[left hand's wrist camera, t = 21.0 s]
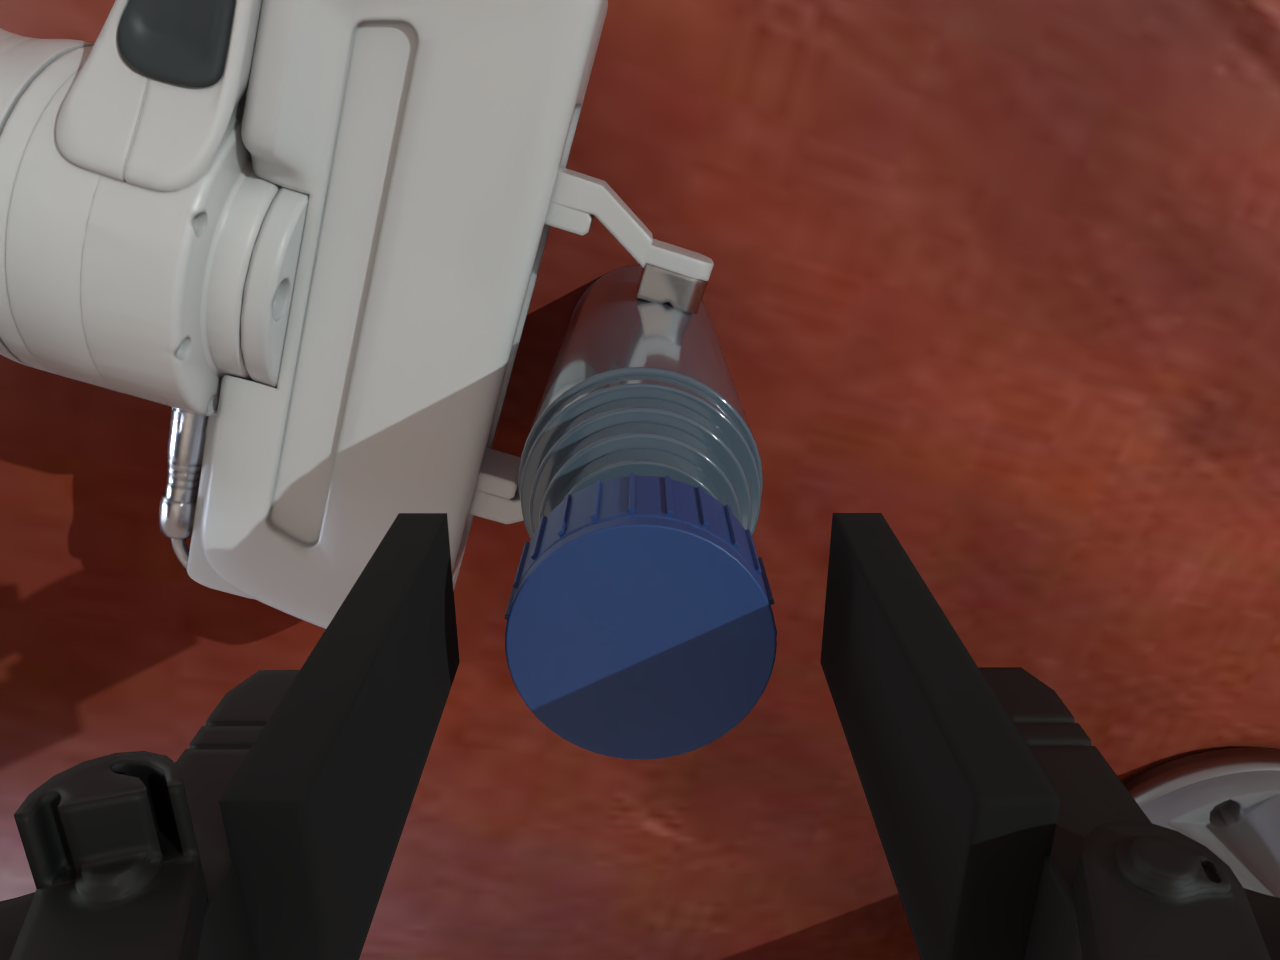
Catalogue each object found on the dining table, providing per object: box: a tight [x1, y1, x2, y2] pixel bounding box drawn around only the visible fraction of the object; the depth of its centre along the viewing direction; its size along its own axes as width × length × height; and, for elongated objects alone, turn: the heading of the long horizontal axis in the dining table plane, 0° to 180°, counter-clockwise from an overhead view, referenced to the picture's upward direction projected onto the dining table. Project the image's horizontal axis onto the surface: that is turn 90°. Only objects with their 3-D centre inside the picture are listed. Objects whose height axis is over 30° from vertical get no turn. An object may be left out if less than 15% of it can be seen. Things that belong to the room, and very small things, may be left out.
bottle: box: [518, 265, 763, 539], centre depth 23 cm, size 5×5×20 cm
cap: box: [505, 473, 777, 760], centre depth 14 cm, size 4×4×2 cm
